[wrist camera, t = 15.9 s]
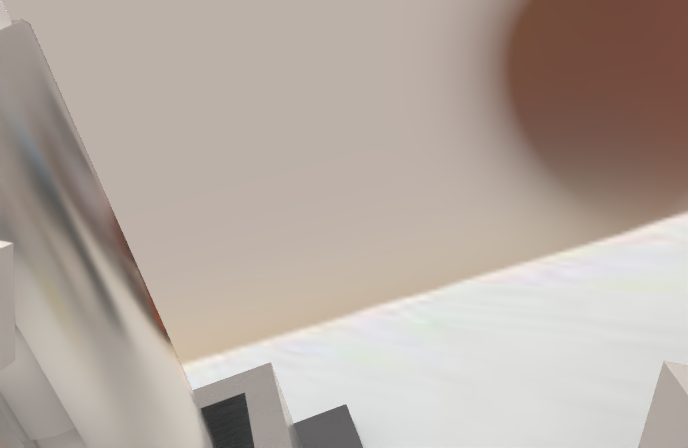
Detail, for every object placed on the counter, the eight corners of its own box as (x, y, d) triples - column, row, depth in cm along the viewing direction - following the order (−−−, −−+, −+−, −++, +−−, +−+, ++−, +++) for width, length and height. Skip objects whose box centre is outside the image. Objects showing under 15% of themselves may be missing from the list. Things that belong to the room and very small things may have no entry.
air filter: (93, 652, 26) (-325, 68, 15) (182, 517, 31) (-82, 6, 20) (220, 701, 24) (-178, 29, 12) (295, 545, 29) (61, -31, 17)
